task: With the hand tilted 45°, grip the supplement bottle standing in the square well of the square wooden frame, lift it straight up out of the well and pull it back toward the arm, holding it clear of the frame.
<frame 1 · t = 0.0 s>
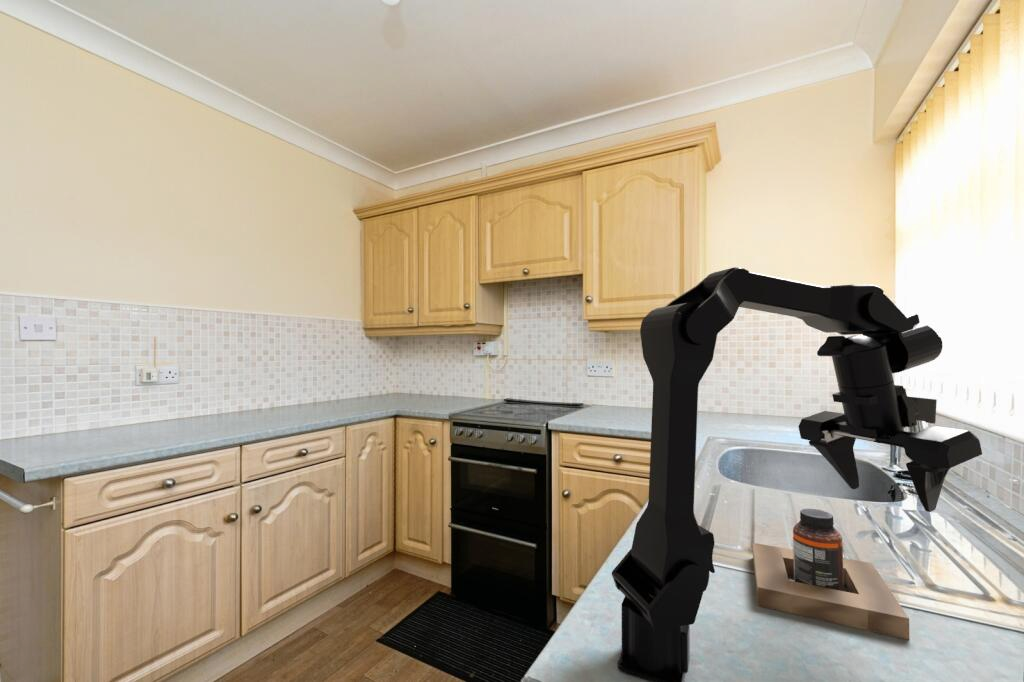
hand: (890, 498, 58), 15 cm above the countertop, tool pointing down, fingers open, 9 cm apart
square wooden frame: (818, 591, 64), on the countertop
supplement bottle: (818, 593, 64), resting in square wooden frame
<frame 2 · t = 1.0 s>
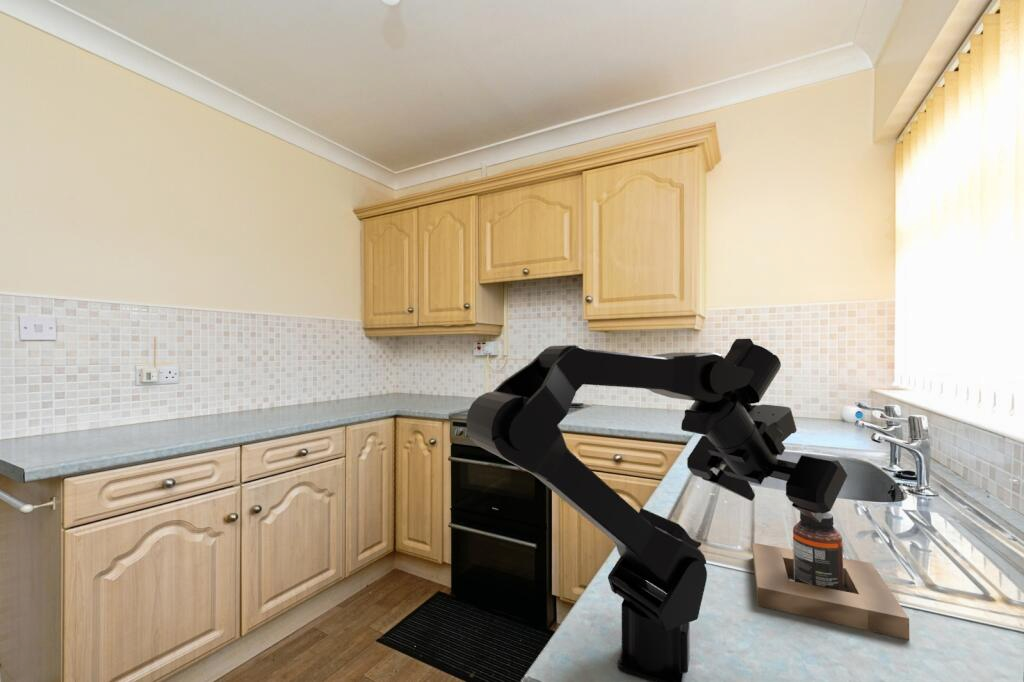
hand: (784, 507, 61), 13 cm above the countertop, tool tilted 45°, fingers open, 9 cm apart
nothing on the countertop moved.
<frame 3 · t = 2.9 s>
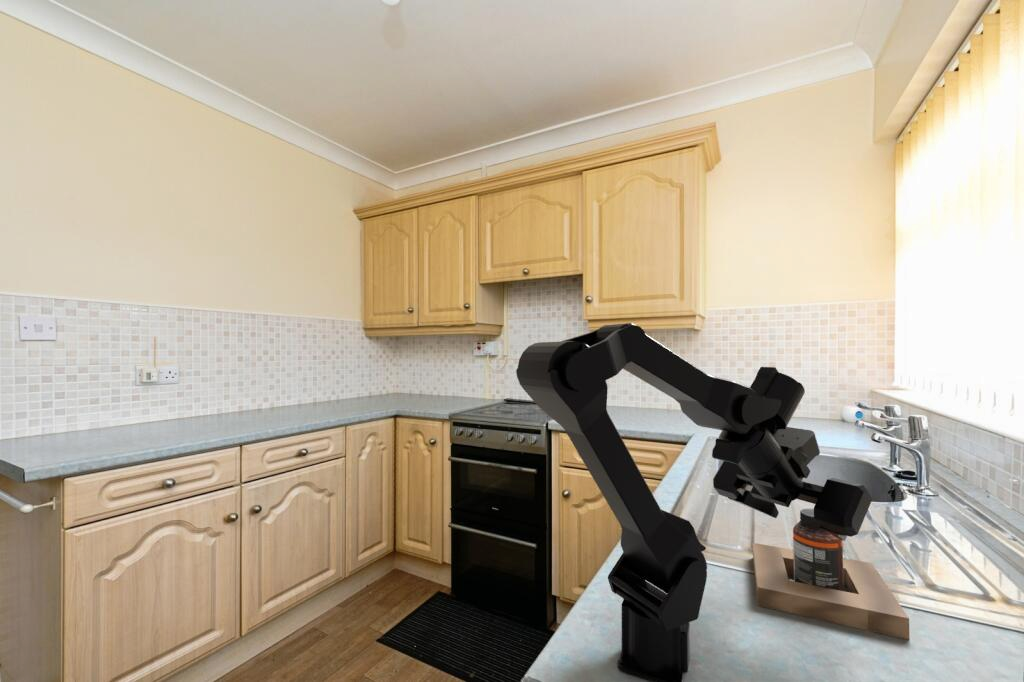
hand: (808, 525, 64), 10 cm above the countertop, tool tilted 45°, fingers open, 9 cm apart
nothing on the countertop moved.
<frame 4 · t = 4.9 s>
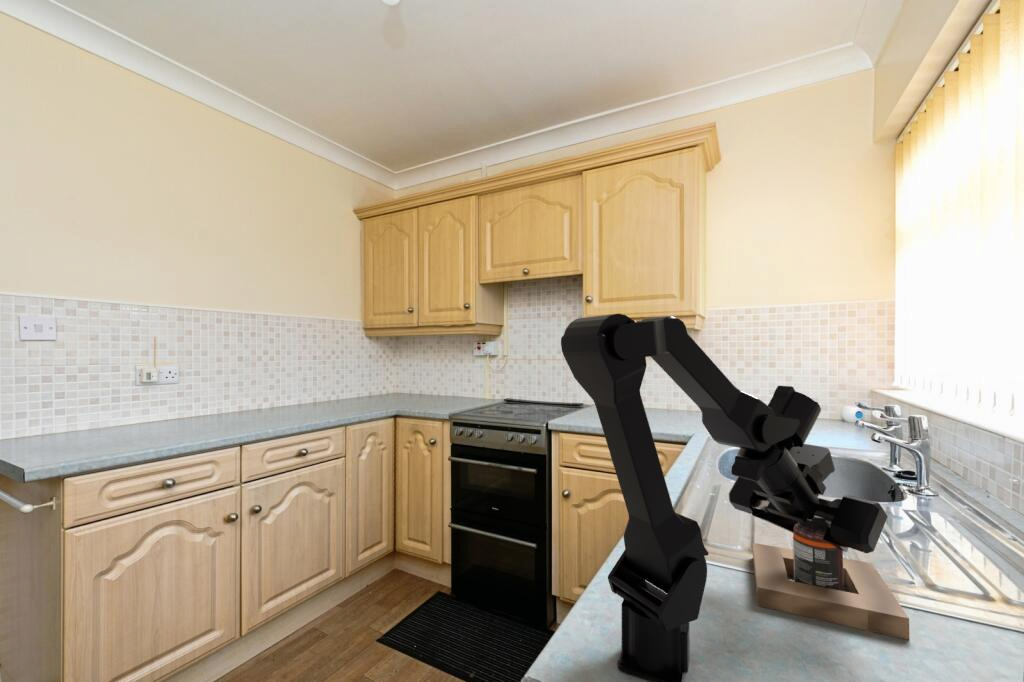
hand: (822, 540, 65), 7 cm above the countertop, tool tilted 45°, fingers closed on supplement bottle, 6 cm apart
supplement bottle: (818, 593, 64), resting in square wooden frame, touching gripper
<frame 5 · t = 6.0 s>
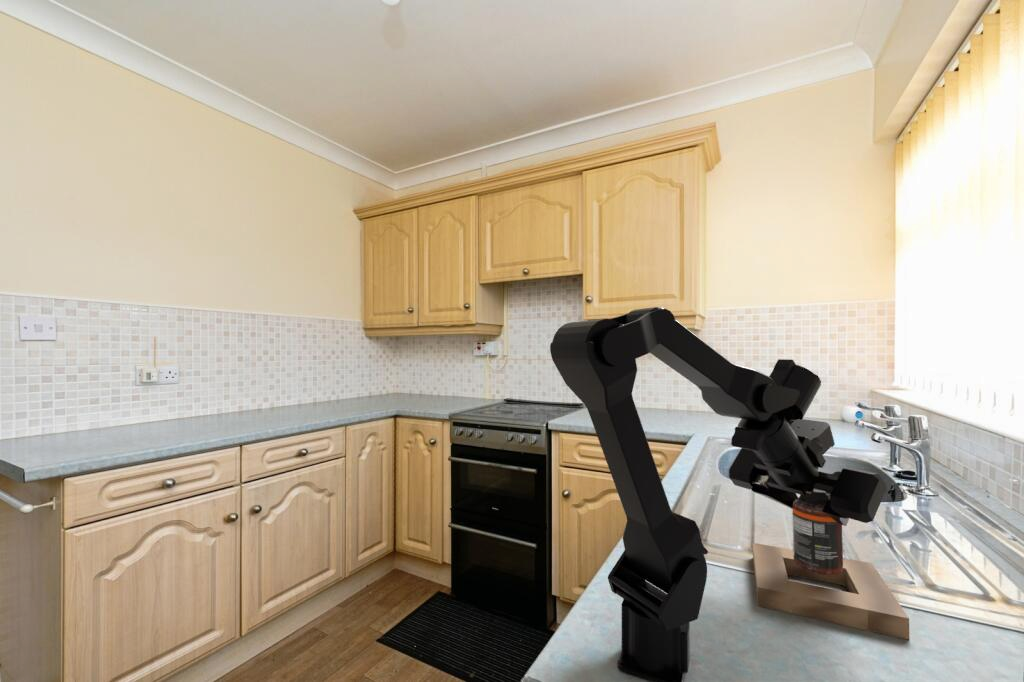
hand: (822, 515, 65), 11 cm above the countertop, tool tilted 45°, fingers closed on supplement bottle, 6 cm apart
supplement bottle: (817, 568, 64), point 3 cm above the countertop, touching gripper
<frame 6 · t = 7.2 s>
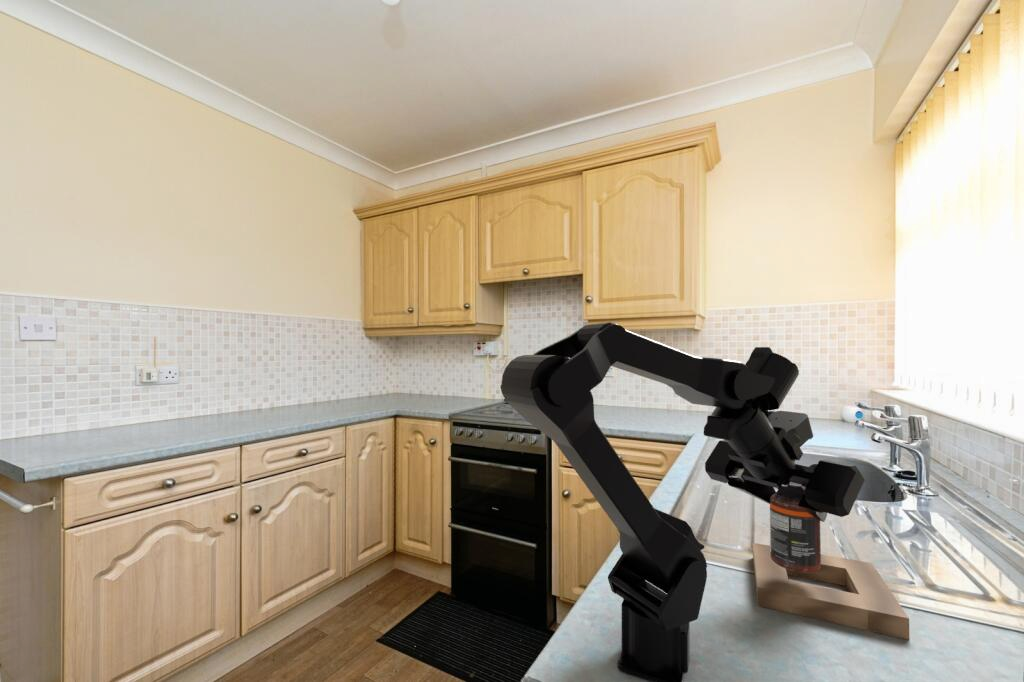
hand: (800, 511, 63), 12 cm above the countertop, tool tilted 45°, fingers closed on supplement bottle, 6 cm apart
supplement bottle: (794, 566, 62), point 5 cm above the countertop, touching gripper
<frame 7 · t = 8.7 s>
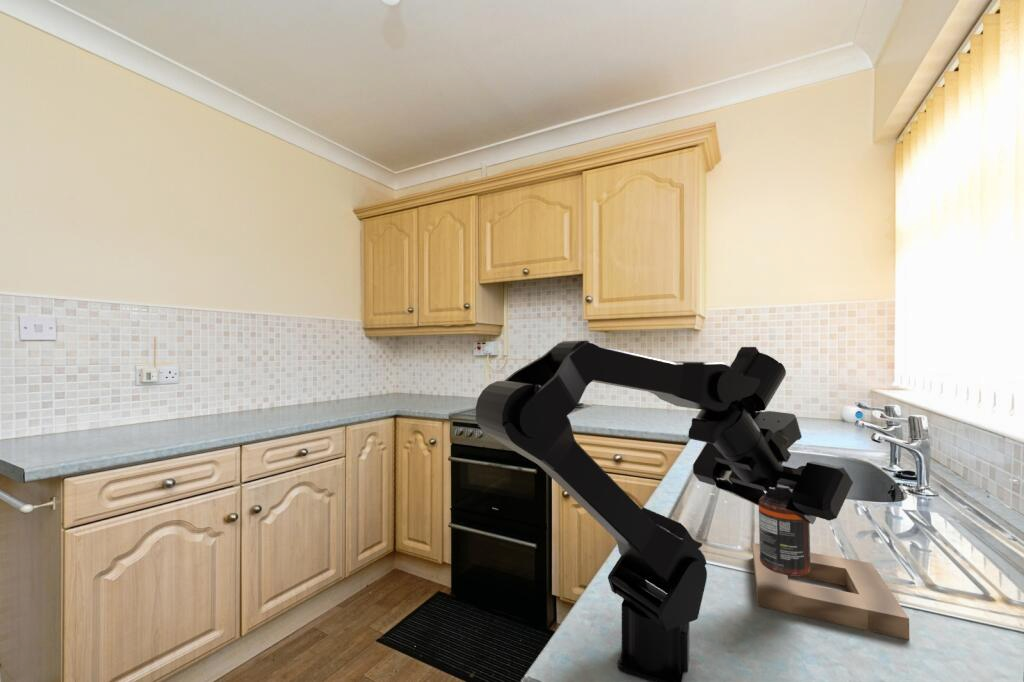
hand: (789, 513, 62), 12 cm above the countertop, tool tilted 45°, fingers closed on supplement bottle, 6 cm apart
supplement bottle: (784, 569, 61), point 5 cm above the countertop, touching gripper
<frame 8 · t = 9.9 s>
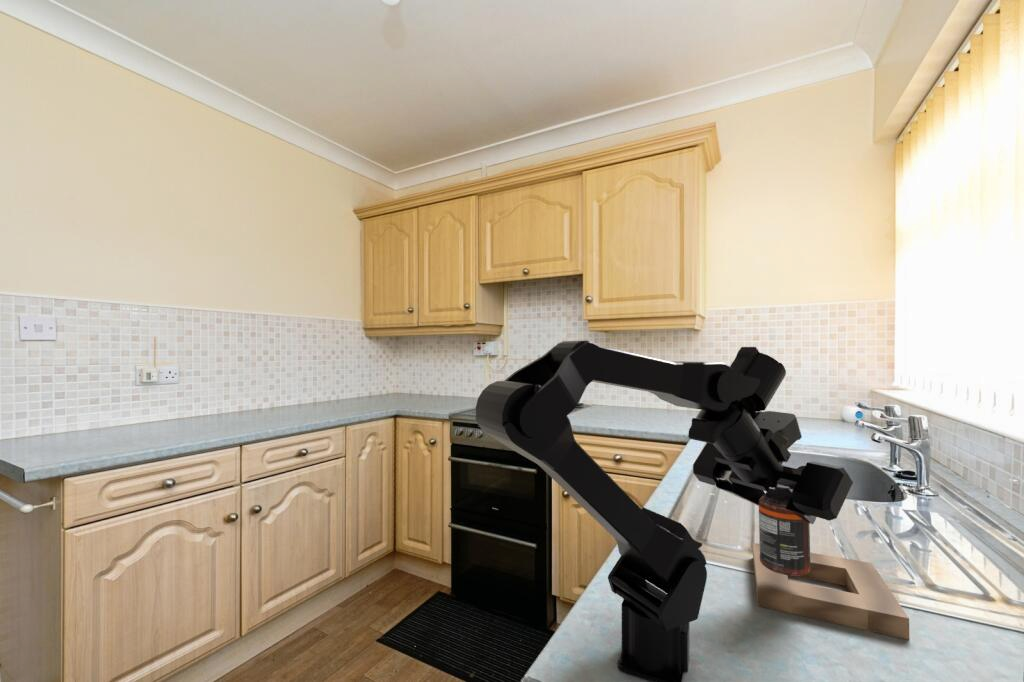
hand: (789, 513, 62), 12 cm above the countertop, tool tilted 45°, fingers closed on supplement bottle, 6 cm apart
supplement bottle: (784, 569, 61), point 5 cm above the countertop, touching gripper
at the end: the gripper is holding supplement bottle; supplement bottle point 5.0 cm above the countertop; supplement bottle moved 9.6 cm from its start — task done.
